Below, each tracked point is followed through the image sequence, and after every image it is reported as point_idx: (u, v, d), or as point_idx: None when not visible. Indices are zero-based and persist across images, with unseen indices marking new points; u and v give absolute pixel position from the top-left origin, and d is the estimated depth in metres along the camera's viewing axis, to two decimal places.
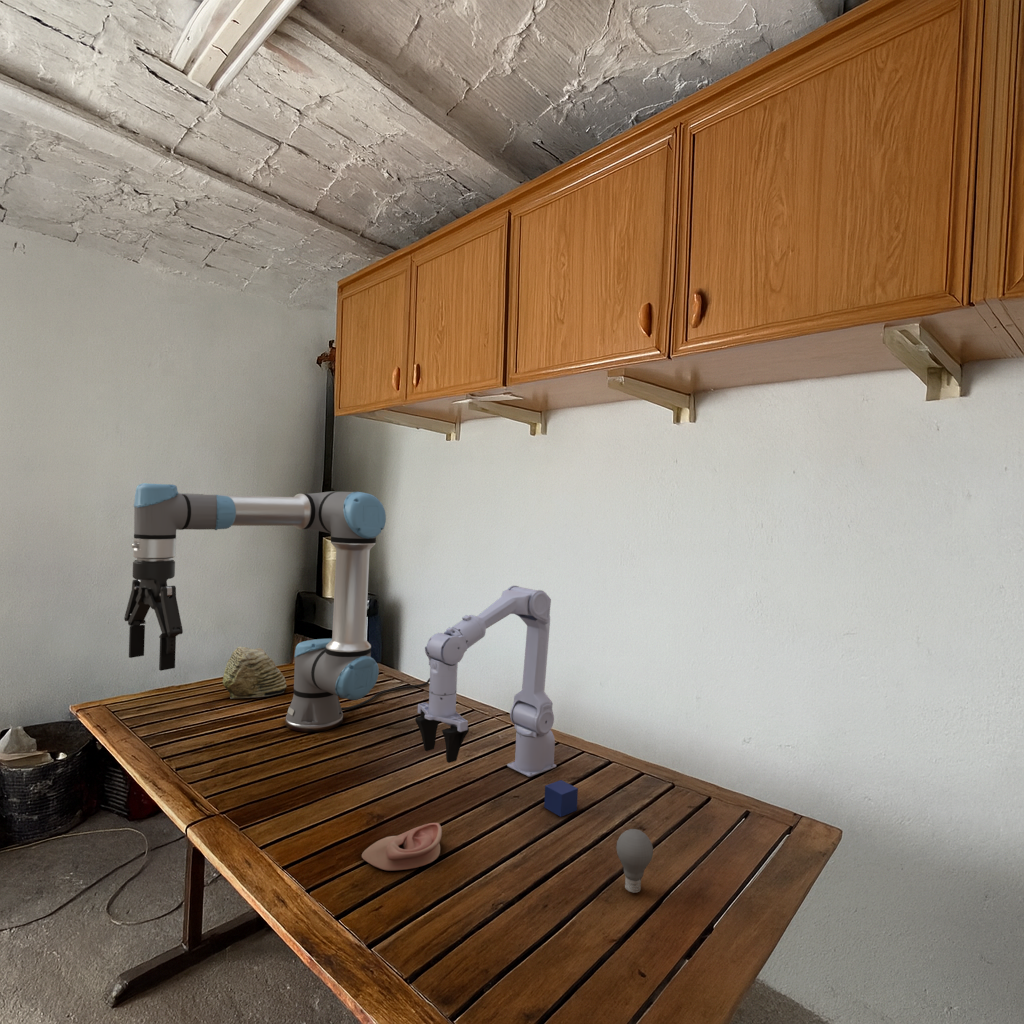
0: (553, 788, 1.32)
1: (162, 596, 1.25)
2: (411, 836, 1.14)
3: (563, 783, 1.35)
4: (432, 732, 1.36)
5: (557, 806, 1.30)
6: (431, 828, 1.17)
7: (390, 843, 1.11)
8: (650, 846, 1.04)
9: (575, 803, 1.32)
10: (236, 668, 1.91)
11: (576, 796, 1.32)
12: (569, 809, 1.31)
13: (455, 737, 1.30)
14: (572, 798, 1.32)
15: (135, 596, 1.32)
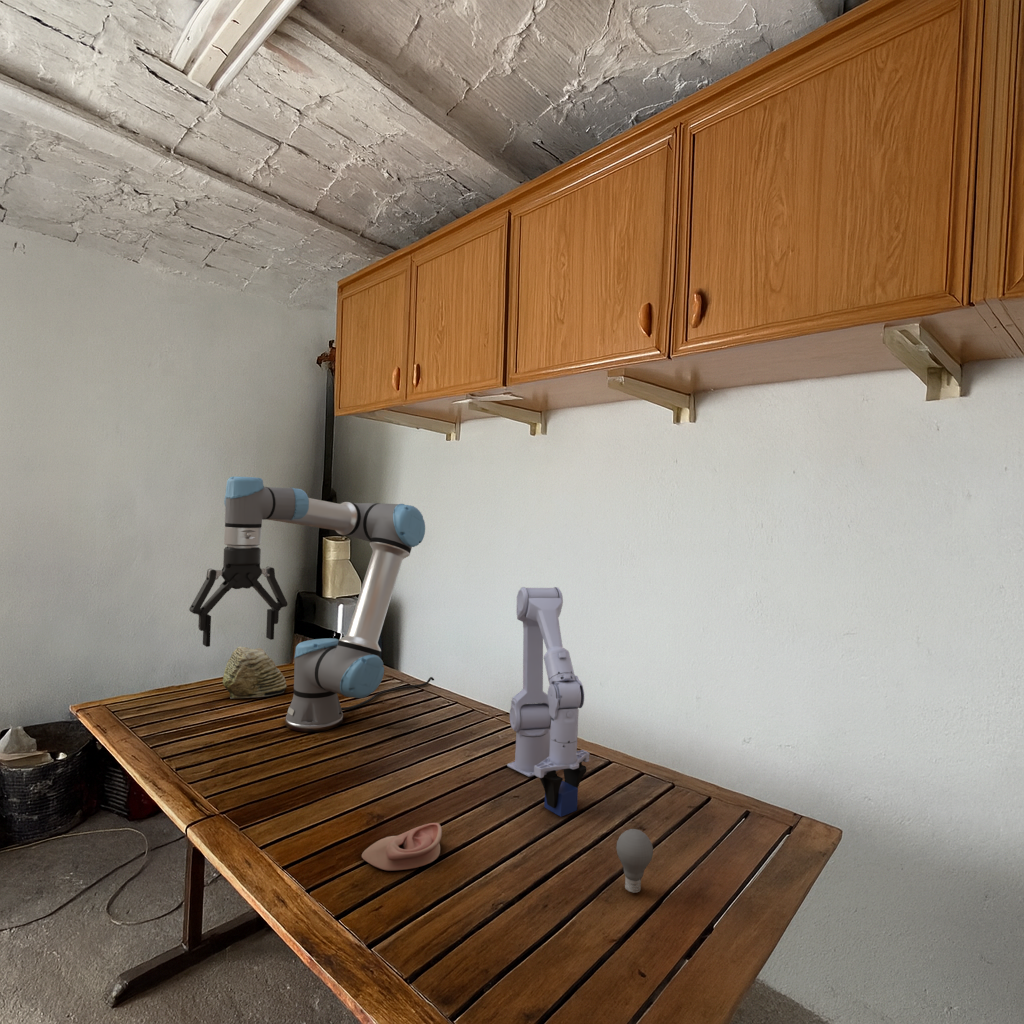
0: None
1: (272, 575, 1.44)
2: (411, 836, 1.14)
3: (564, 783, 1.35)
4: None
5: (557, 806, 1.30)
6: (431, 828, 1.17)
7: (390, 843, 1.11)
8: (650, 846, 1.04)
9: (575, 803, 1.32)
10: (236, 668, 1.91)
11: (576, 796, 1.32)
12: (569, 809, 1.31)
13: None
14: (572, 798, 1.32)
15: None
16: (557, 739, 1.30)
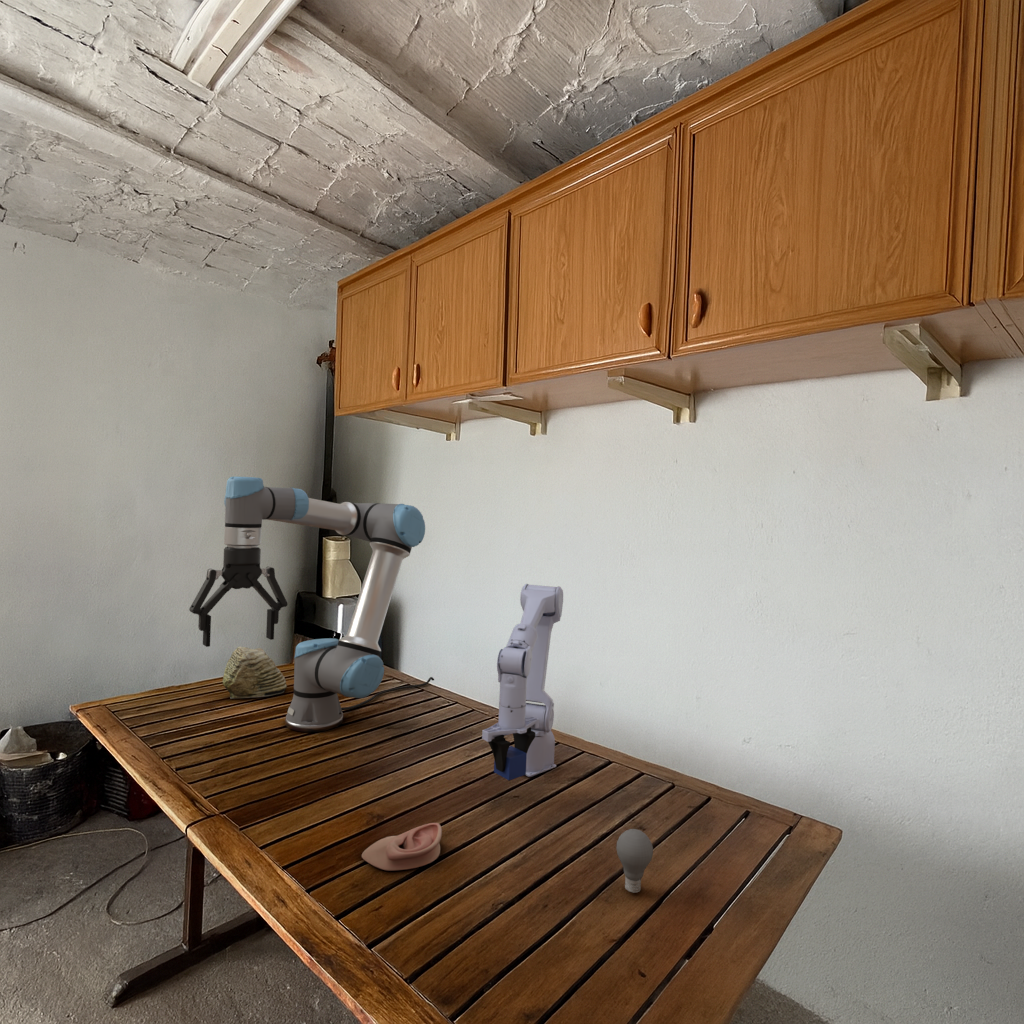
0: None
1: (272, 575, 1.44)
2: (411, 836, 1.14)
3: (513, 749, 1.37)
4: None
5: (506, 770, 1.33)
6: (431, 828, 1.17)
7: (390, 843, 1.11)
8: (650, 846, 1.04)
9: (524, 767, 1.35)
10: (236, 668, 1.91)
11: (525, 761, 1.35)
12: (517, 773, 1.34)
13: None
14: (521, 762, 1.34)
15: None
16: (500, 702, 1.34)
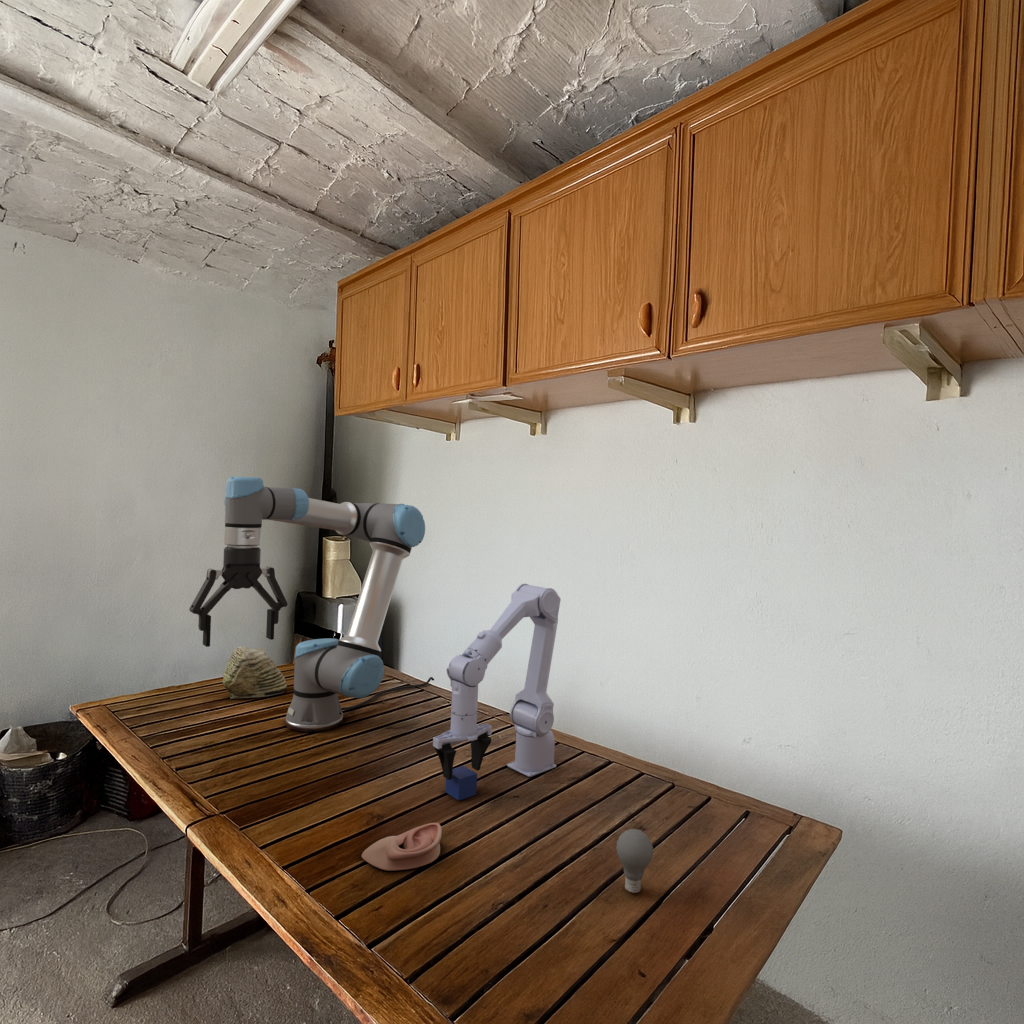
0: (453, 773, 1.37)
1: (272, 575, 1.44)
2: (411, 836, 1.14)
3: (465, 769, 1.40)
4: None
5: (456, 791, 1.35)
6: (431, 828, 1.17)
7: (390, 843, 1.11)
8: (650, 846, 1.04)
9: (474, 788, 1.37)
10: (236, 668, 1.91)
11: (475, 781, 1.37)
12: (467, 793, 1.36)
13: None
14: (471, 783, 1.37)
15: None
16: None
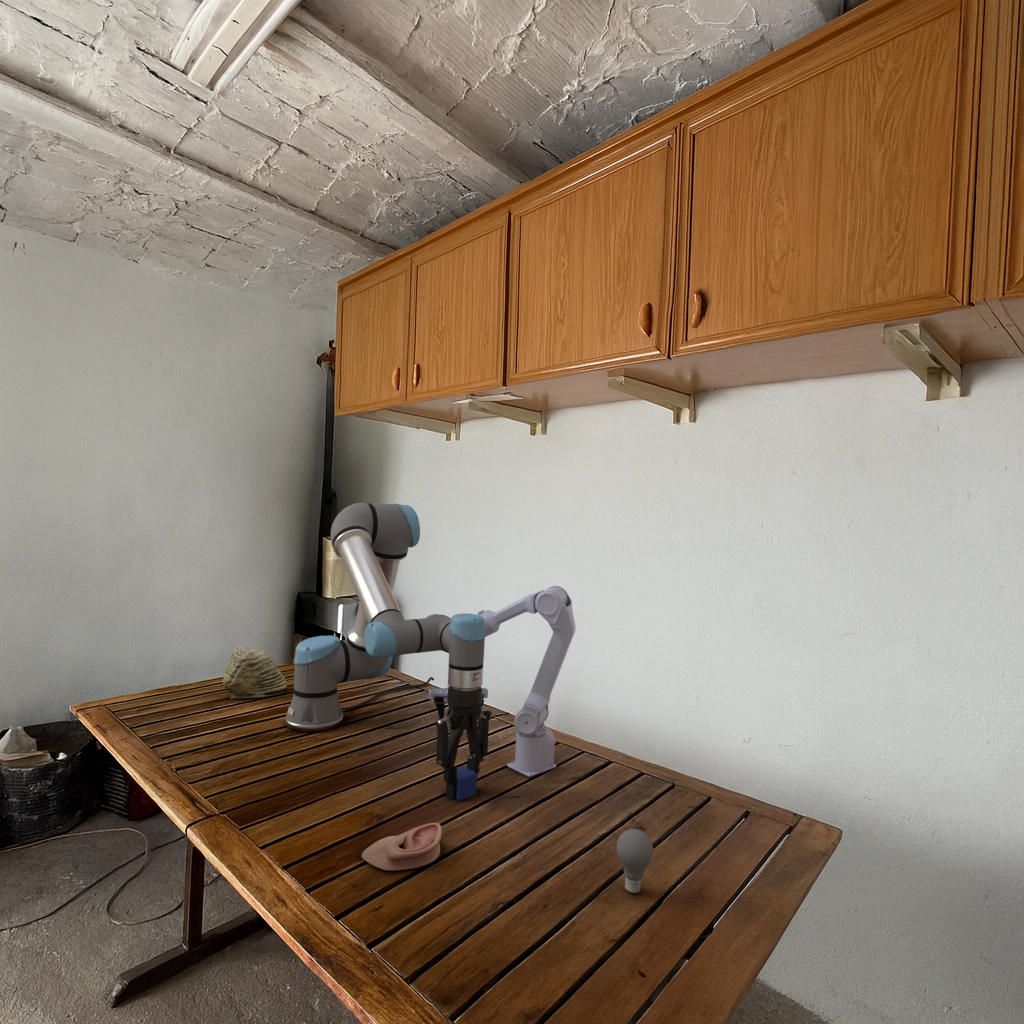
0: None
1: (487, 719, 1.41)
2: (411, 836, 1.14)
3: (465, 769, 1.40)
4: None
5: (456, 791, 1.35)
6: (431, 828, 1.17)
7: (390, 843, 1.11)
8: (650, 846, 1.04)
9: (474, 788, 1.37)
10: (236, 668, 1.91)
11: (475, 781, 1.37)
12: (467, 793, 1.36)
13: None
14: (471, 783, 1.37)
15: None
16: None
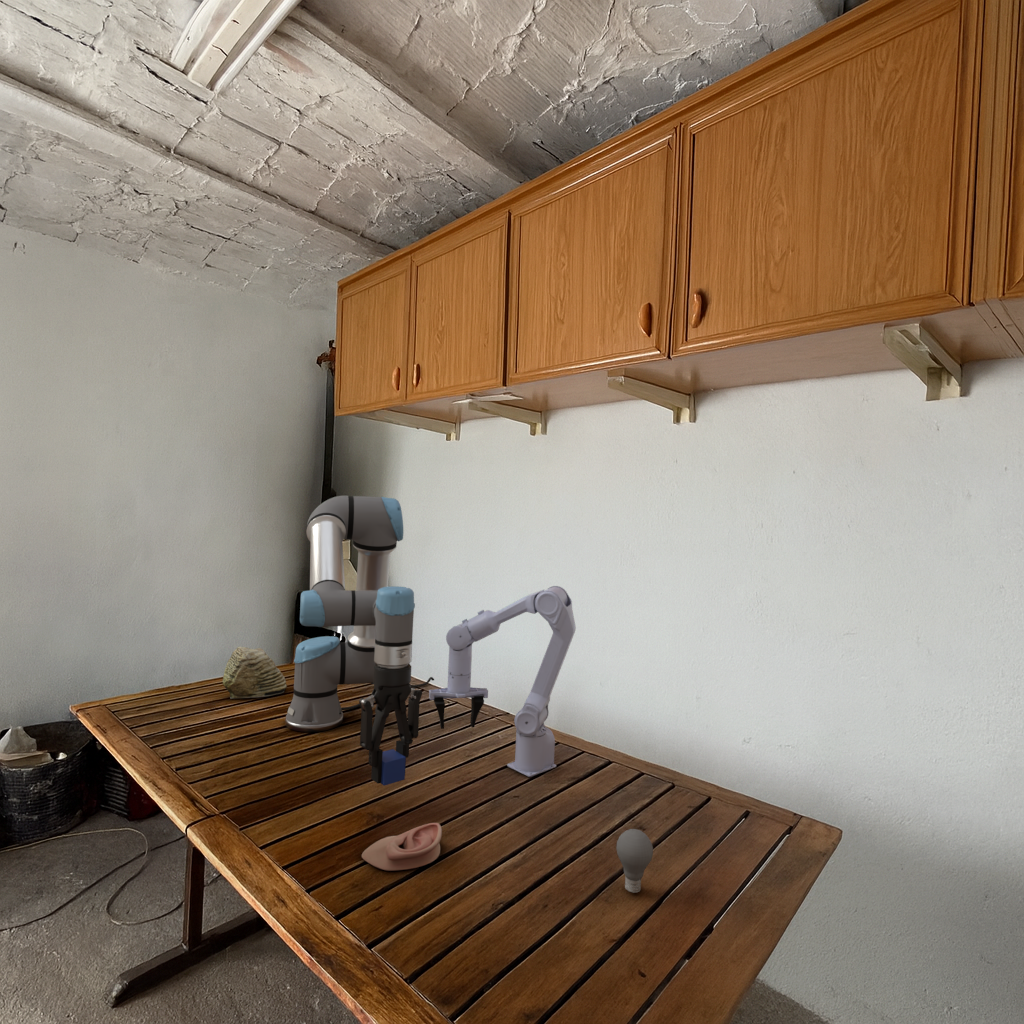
0: None
1: (417, 699, 1.32)
2: (411, 836, 1.14)
3: (393, 752, 1.31)
4: None
5: None
6: (431, 828, 1.17)
7: (390, 843, 1.11)
8: (650, 846, 1.04)
9: (402, 772, 1.28)
10: (236, 668, 1.91)
11: (403, 765, 1.29)
12: (394, 778, 1.27)
13: None
14: (398, 767, 1.28)
15: None
16: None
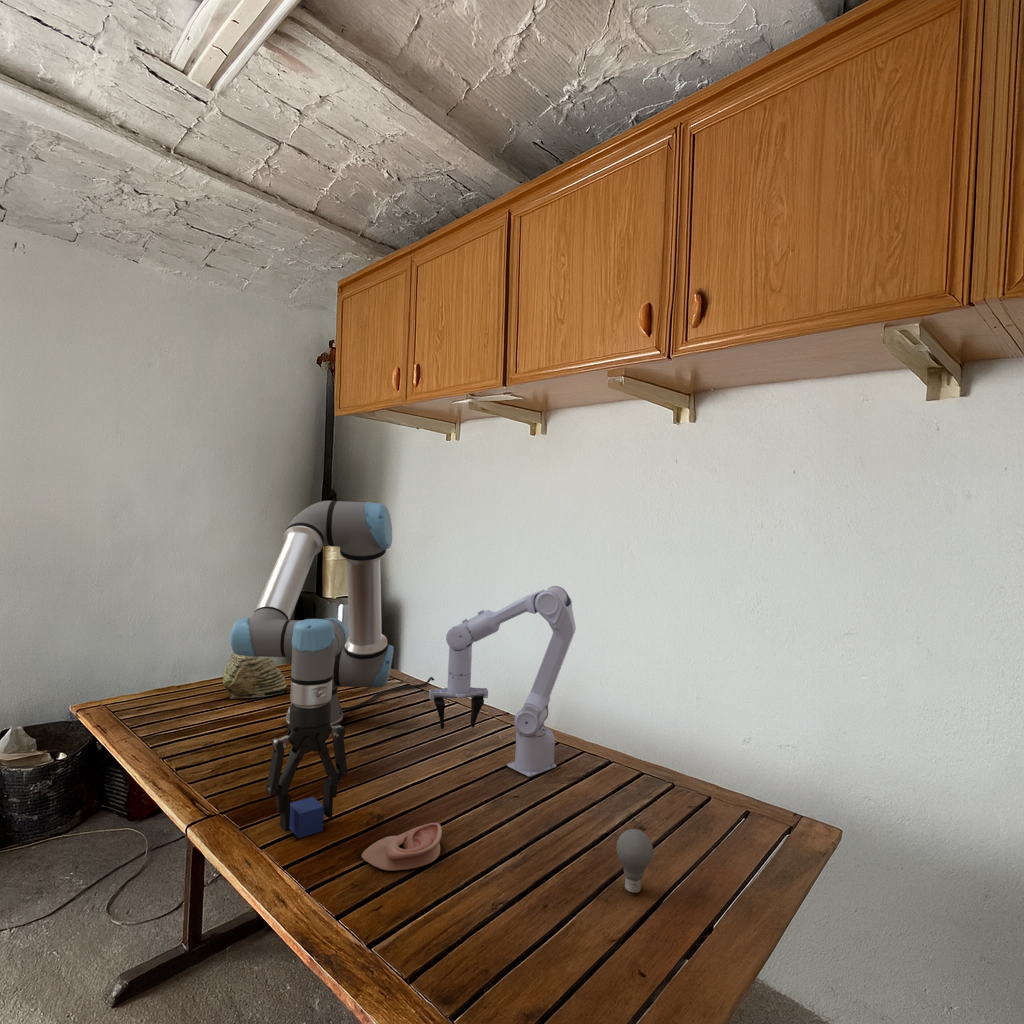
0: (295, 806, 1.20)
1: (341, 737, 1.23)
2: (411, 836, 1.14)
3: (312, 800, 1.22)
4: None
5: (296, 827, 1.18)
6: (431, 828, 1.17)
7: (390, 843, 1.11)
8: (650, 846, 1.04)
9: (320, 823, 1.20)
10: (236, 668, 1.91)
11: (321, 815, 1.20)
12: (310, 829, 1.19)
13: None
14: (315, 817, 1.19)
15: None
16: None
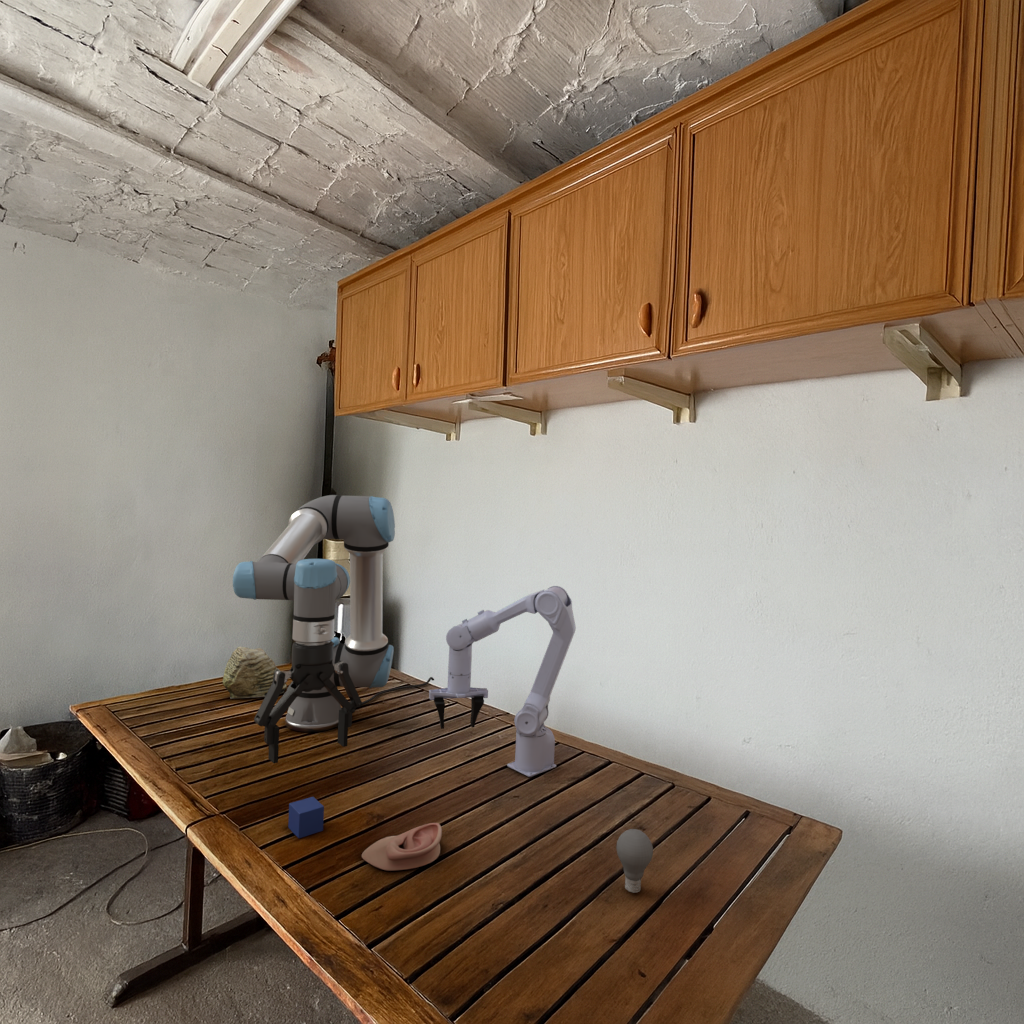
0: (295, 806, 1.20)
1: (345, 672, 1.23)
2: (411, 836, 1.14)
3: (312, 800, 1.22)
4: None
5: (296, 827, 1.18)
6: (431, 828, 1.17)
7: (390, 843, 1.11)
8: (650, 846, 1.04)
9: (320, 823, 1.20)
10: (236, 668, 1.91)
11: (321, 815, 1.20)
12: (310, 829, 1.19)
13: None
14: (315, 817, 1.19)
15: None
16: None
